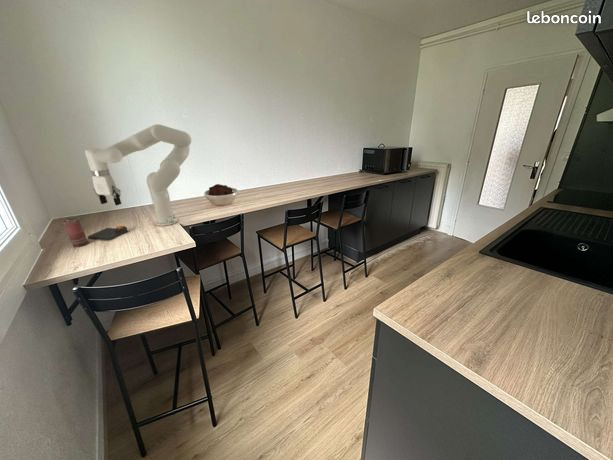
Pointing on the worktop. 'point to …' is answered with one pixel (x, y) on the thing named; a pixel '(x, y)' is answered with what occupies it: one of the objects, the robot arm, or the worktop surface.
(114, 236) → the scale
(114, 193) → the robot arm
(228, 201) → the filled cream bowl
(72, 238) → the can
